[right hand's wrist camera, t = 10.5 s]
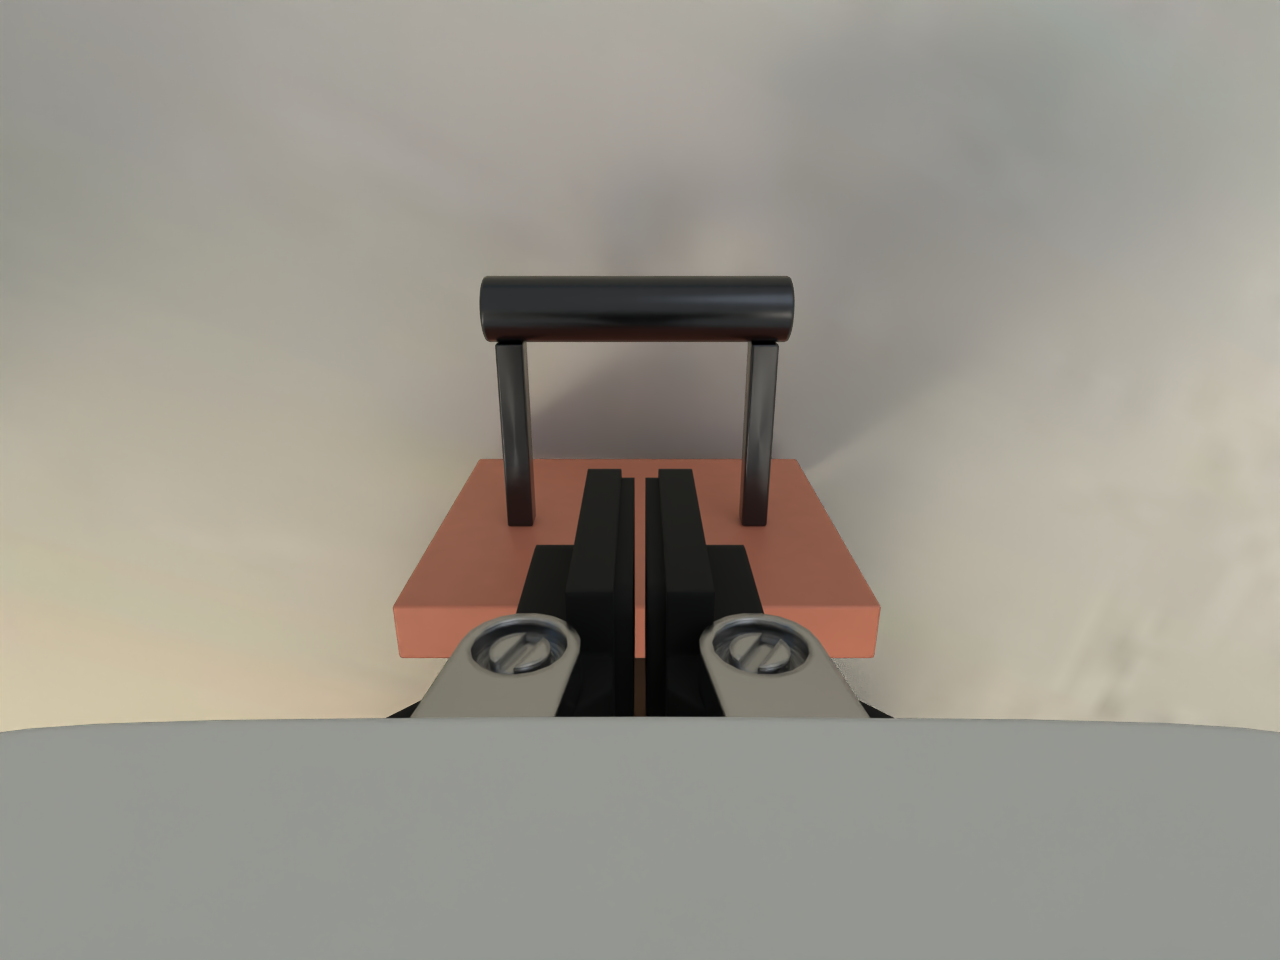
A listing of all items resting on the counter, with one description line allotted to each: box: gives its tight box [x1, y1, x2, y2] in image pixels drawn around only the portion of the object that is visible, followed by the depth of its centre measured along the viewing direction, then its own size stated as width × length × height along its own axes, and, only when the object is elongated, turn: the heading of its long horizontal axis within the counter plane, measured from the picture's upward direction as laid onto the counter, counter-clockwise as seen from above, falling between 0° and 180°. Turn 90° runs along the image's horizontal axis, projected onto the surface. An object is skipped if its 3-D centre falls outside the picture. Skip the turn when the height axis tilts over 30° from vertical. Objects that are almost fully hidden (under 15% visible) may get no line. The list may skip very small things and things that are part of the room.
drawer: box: [393, 276, 881, 717], centre depth 21 cm, size 24×9×8 cm, turn 0°
